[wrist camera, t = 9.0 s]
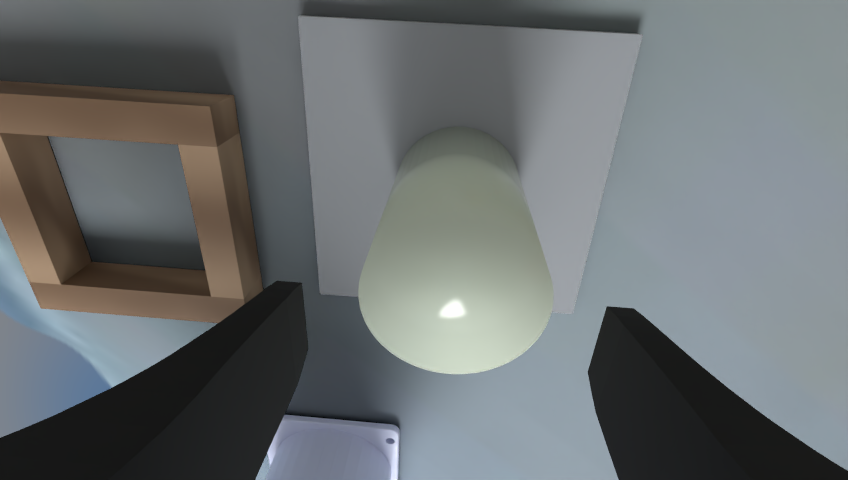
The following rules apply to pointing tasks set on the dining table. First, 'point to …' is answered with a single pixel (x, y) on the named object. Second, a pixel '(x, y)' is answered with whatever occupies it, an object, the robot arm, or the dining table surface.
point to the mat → (460, 124)
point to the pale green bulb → (456, 259)
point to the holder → (56, 222)
